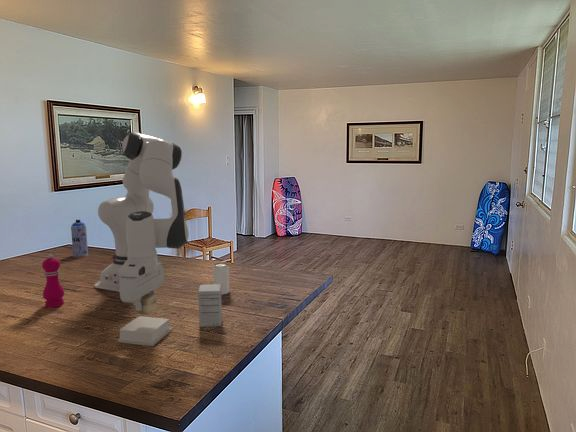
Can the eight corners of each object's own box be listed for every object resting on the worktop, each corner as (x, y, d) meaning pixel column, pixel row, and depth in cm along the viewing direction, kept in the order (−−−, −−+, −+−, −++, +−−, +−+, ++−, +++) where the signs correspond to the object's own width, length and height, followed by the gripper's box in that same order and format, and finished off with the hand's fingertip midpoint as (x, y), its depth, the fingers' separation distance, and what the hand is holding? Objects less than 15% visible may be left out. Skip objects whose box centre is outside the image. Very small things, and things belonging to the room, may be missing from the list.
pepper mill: (43, 309, 163) (38, 257, 159) (44, 303, 169) (39, 253, 166) (65, 306, 166) (61, 255, 163) (65, 300, 172) (61, 251, 169)
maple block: (134, 313, 137) (133, 298, 136) (142, 307, 142) (141, 292, 141) (148, 314, 136) (147, 299, 135) (156, 308, 141) (155, 294, 140)
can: (226, 295, 178) (225, 267, 176) (211, 294, 179) (210, 266, 177) (231, 290, 184) (231, 263, 182) (217, 289, 185) (216, 262, 183)
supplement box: (201, 318, 154) (200, 284, 152) (222, 318, 155) (221, 283, 153) (198, 327, 147) (197, 291, 145) (221, 326, 148) (220, 290, 146)
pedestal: (117, 342, 136) (117, 330, 135) (139, 326, 147) (138, 315, 147) (152, 346, 133) (152, 333, 132) (171, 330, 145) (171, 318, 144)
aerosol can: (69, 256, 240) (66, 220, 237) (78, 253, 248) (76, 218, 245) (82, 257, 239) (80, 221, 236) (91, 253, 247) (88, 218, 244)
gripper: (151, 255, 147) (153, 294, 149) (114, 272, 127) (117, 317, 130) (168, 256, 146) (170, 296, 148) (133, 273, 126) (136, 319, 128)
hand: (145, 306), depth 139 cm, fingers closed on maple block, 5 cm apart
